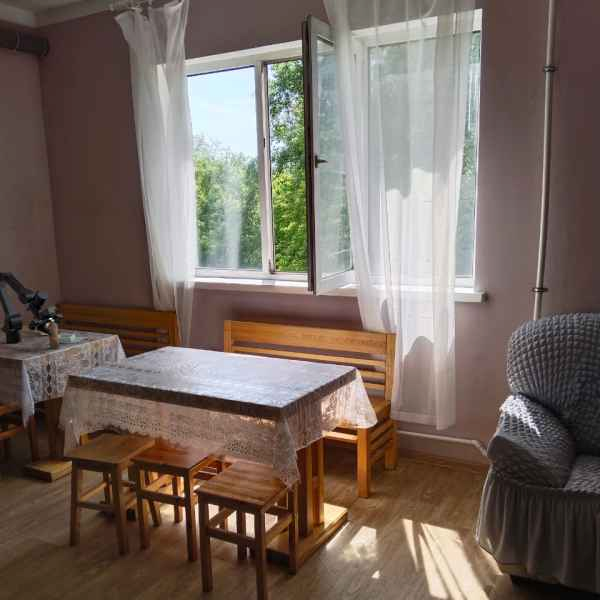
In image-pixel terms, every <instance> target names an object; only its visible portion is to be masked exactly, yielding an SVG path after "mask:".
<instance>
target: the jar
mask: <svg viewBox="0 0 600 600" xmlns="http://www.w3.org/2000/svg"><path fill="white" fill-rule="evenodd" d="M51 315H52V316H51V317H50V319H51V318H53V317H54V315H56V312H55V313H53V314H51ZM48 324H50V323H47V324H46V326H47V328H48V326H49V325H48ZM42 335H48V334H45V333H43V332H41V331H40V336H42Z"/></svg>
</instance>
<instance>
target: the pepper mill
mask: <svg viewBox="0 0 600 600" xmlns="http://www.w3.org/2000/svg"><path fill="white" fill-rule="evenodd" d="M48 325H49V326H48V329H49V330H50V332H51V334H52V335H51V336H50V335H49V336H48V341H49V343H50V344H49V349H50V350H57V348H58V349H60V344H59V337H58V335H59V334H58V328H59V326H58V327H57V325H56V323H55V322H54V321H51V322H50V324H48Z"/></svg>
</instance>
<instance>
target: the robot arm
mask: <svg viewBox="0 0 600 600" xmlns="http://www.w3.org/2000/svg"><path fill="white" fill-rule="evenodd" d="M7 285H8V286H9V287H10V288H11V289H12V290H13V291H14V292H15V294H16V295H17V299H18V300H19V302H20V303H21V304H23V305H27V304H28V305H27V306H26V312H29V311H30V312H31V314H32V315H33V320H31V321H30V323H29V324H28V326H27V327H28V330H29V331H30V332H32V331H39V332H40V333H41V332H43V333H45V334H48V335H50V336H51V335H52V334H51V332H50V330H49V329H48V328H47V326H46V324H47V323H50V322H51V321H54V322H55V323H56V325H57V327H58V335H60V329H59V324H60V323H61V322H62V320H63V319H64V315H63V314H62V313H57V314H56V312H57V311H58V309H57V307H56V306H55V305H52V306H49V307H47V308H43V307H44V305H45V304H46V302H47V301H48V300H49V298H50V295H49V294H48V293H47V292H45V291H44V290H42V289H37V290H36V291H35V292H36V293H35V292H34V291H33V290H31V289H30V288H29V289H28V287H27V288H26V287H25V286H24V285H23V284H22V283H21V281H19V280H18V279H17V278H16V277H15V276H14V274H13V272H11V271H7V272H3V271H0V304H1V307H2V309H3V312H4V317H3V318H4V319H3V322H4V325H3V326H2V327H1V331H2V333H5V340H6V341H5V343H8V344H18V343H20V342H22V335H21V334H22V333H20V331H22V330H23V324H24V322H23V318H22V315H21V313H19V312H18V313H17V312H16V311H15V309H14V306H13V302H12V300H11V297H10V295H9V292H8V290H7ZM53 313H55V315H54V317H53V318H51V319H50V317H51V316H52V315H51V314H53Z"/></svg>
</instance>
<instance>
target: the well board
mask: <svg viewBox="0 0 600 600" xmlns="http://www.w3.org/2000/svg"><path fill="white" fill-rule="evenodd" d="M58 337H59V343H70V344H79V343H78V342H80V341H81V340H82V339H83V340H85V339H86V336H76V334H75V333H71V334H69V333H67V334H66V333H65V334H63V333H62V334H58ZM83 340H82V341H83ZM82 341H81V342H82ZM81 342H80V343H81ZM44 345H50V343H49V340H48V341H46V342H44Z"/></svg>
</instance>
